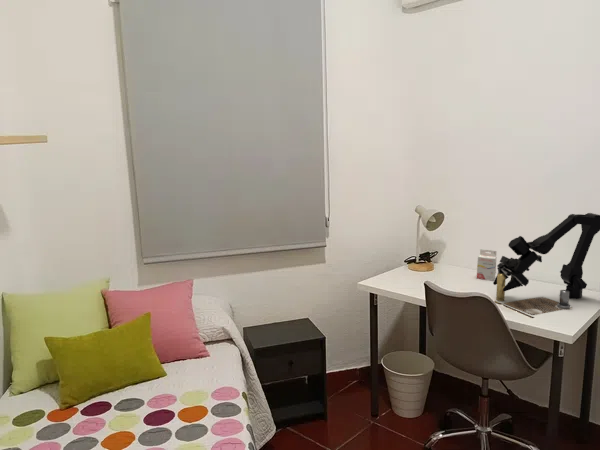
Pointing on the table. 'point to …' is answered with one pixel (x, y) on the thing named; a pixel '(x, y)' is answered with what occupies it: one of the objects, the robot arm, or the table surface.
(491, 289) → the table surface
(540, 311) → the brown flat sheet
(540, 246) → the robot arm
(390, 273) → the table surface
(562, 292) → the fixed pin
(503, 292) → the brass pin
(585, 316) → the table surface
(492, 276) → the ink cartridge box
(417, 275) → the table surface
